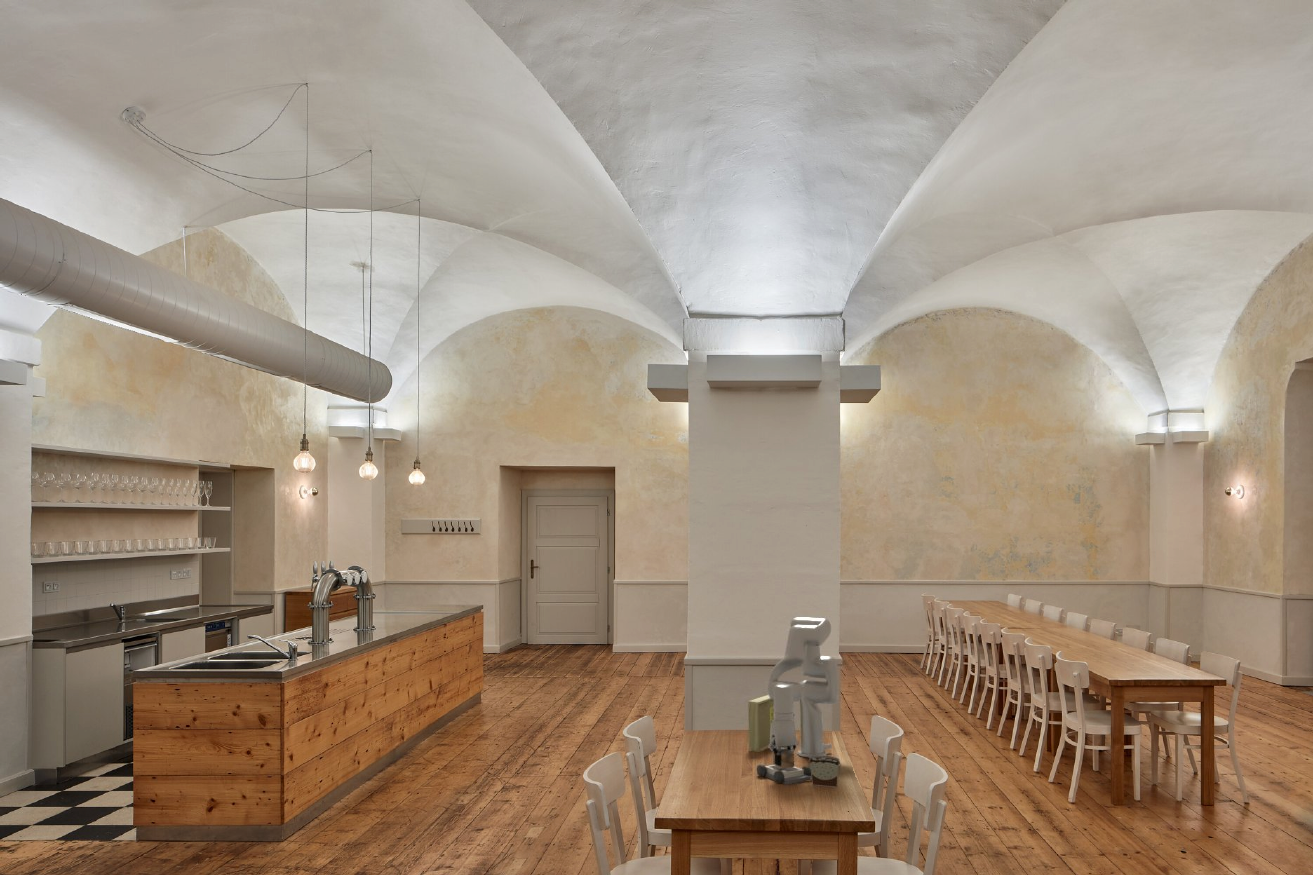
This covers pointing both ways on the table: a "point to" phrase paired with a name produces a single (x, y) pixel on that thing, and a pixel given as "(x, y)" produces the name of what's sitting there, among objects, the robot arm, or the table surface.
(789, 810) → the table surface
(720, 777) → the table surface
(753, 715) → the flat product box
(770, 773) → the chassis
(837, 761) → the food container
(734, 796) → the table surface
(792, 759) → the grey block on wood
